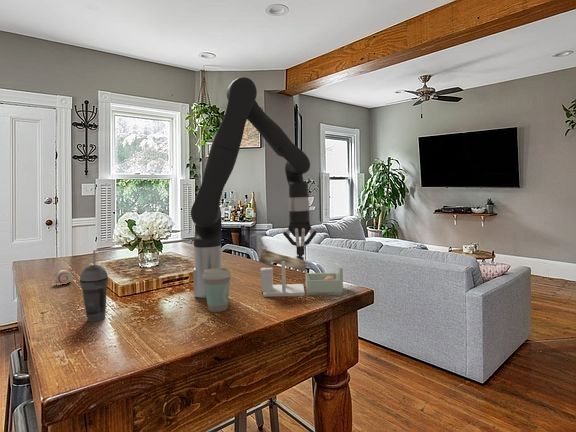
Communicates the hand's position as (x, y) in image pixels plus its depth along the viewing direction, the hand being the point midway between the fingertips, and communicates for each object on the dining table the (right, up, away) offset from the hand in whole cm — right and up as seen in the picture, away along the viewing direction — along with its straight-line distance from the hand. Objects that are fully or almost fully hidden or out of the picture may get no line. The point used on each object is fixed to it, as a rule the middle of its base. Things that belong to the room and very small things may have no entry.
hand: (300, 256), depth 135 cm
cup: (+8, -11, -6) cm, 15 cm away
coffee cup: (-26, -14, -24) cm, 38 cm away
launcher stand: (-6, -12, -6) cm, 15 cm away
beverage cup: (-60, -15, -31) cm, 69 cm away
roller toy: (-96, -13, +12) cm, 98 cm away
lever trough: (-7, -3, -4) cm, 9 cm away
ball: (+10, -8, -7) cm, 15 cm away
